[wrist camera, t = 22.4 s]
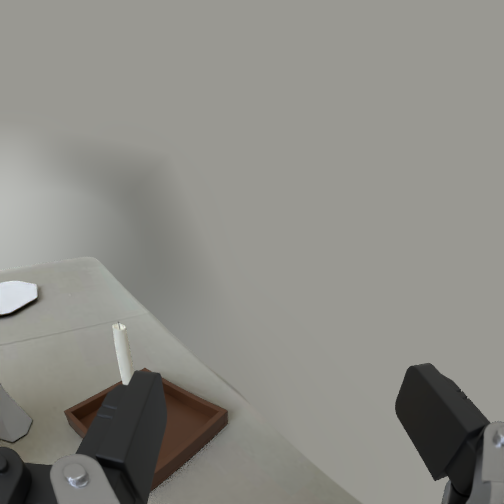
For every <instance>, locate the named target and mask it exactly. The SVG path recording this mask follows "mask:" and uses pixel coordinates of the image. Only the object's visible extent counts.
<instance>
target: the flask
mask: <svg viewBox="0 0 504 504" xmlns="http://www.w3.org/2000/svg"><path fill="white" fill-rule="evenodd" d="M31 422H32V419H31V418H30V417H29V416H28V415H27V414H26V412H25V411H24V410H23V409H22V408H21V407H20V406H19V405H18V404H17V403H16V402H15V401H14V400H13V399H12V398H11V397H10V395H9V394H8V393H7V392H6V391H5V390H4V388H3V387H2V385H1V384H0V439H3V440H7V441H11V442H13V441H15V440H17V439H18V438H20V437H22V436H23V435H25V434H26V433H27V432H28V429H29V427H30V424H31Z"/></svg>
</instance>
